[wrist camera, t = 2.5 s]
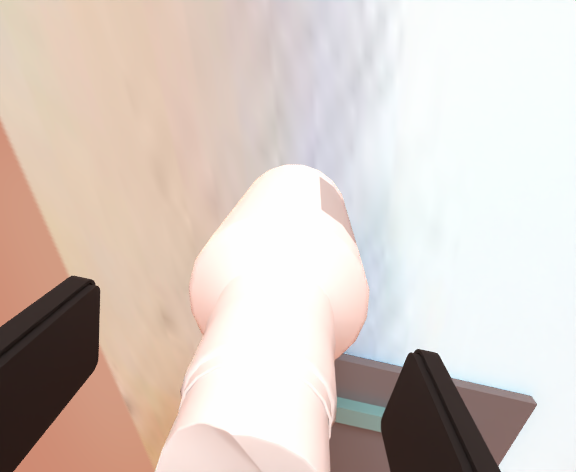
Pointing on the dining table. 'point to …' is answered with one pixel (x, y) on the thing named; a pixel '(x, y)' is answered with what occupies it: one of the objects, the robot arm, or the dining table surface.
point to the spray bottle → (270, 330)
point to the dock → (374, 398)
